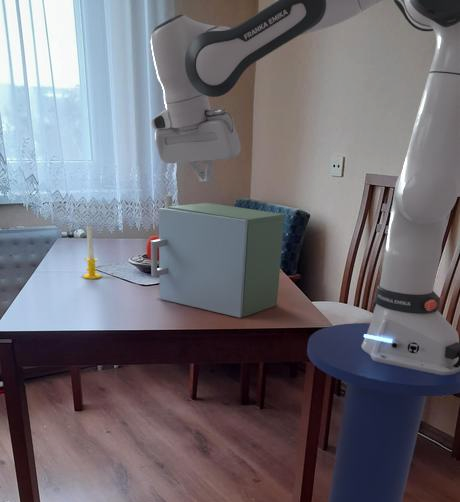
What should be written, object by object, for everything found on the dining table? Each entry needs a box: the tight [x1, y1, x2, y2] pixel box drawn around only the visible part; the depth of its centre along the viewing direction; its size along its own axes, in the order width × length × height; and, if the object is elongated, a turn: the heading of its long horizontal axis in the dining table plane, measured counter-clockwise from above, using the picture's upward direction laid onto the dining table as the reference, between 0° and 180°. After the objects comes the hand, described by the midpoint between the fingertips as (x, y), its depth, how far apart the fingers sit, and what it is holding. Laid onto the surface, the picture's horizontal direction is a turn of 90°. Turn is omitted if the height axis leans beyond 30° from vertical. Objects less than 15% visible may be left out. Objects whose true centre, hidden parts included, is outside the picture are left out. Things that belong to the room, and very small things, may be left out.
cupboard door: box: [150, 207, 248, 319], centre depth 139 cm, size 6×26×24 cm, turn 58°
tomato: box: [145, 234, 159, 261], centre depth 186 cm, size 10×11×11 cm
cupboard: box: [168, 202, 286, 318], centre depth 149 cm, size 16×26×24 cm, turn 53°
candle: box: [82, 225, 102, 280], centre depth 167 cm, size 5×5×16 cm
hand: (206, 181), depth 122 cm, fingers closed
